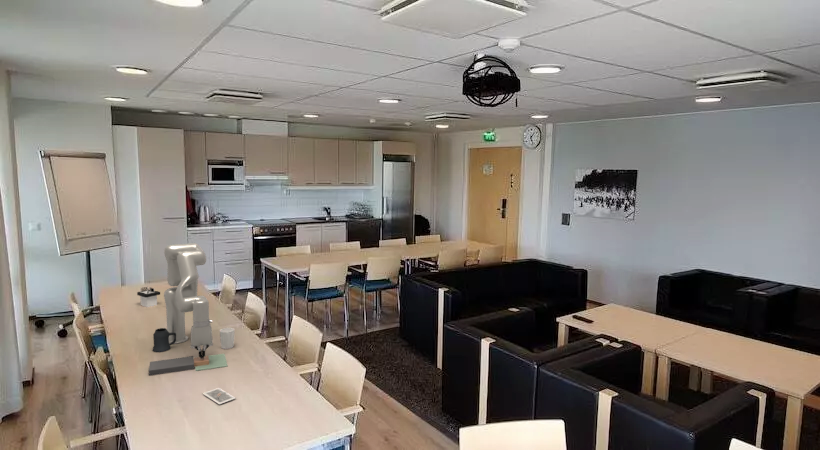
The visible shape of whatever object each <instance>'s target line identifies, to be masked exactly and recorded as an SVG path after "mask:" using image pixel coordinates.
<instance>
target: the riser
mask: <svg viewBox="0 0 820 450" xmlns="http://www.w3.org/2000/svg"><path fill="white" fill-rule="evenodd" d="M194 358H195V357H194V356H193V355H191V356H183V357H182V356H181V357H175V358H168V359H160V360H159V359H158V360H152V361H149V366H148V376H155V375H164V374H170V373H177V372H182V371H191V370H195V367H194Z"/></svg>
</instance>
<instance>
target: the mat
mask: <svg viewBox="0 0 820 450" xmlns="http://www.w3.org/2000/svg"><path fill="white" fill-rule="evenodd" d="M207 356H208V357H209V365H202V366H195V367H194V370H195V372H199V371H206V370H212V369H213V370H214V369H221V368H227V367H228V363H227V362H228V361H227V358H226V354H225V353H219V354H212V355H207ZM196 357H197V356H196ZM196 357H194V358H196Z"/></svg>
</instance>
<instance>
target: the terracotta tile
mask: <svg viewBox="0 0 820 450" xmlns="http://www.w3.org/2000/svg"><path fill="white" fill-rule="evenodd" d="M208 356H209V355H205V356H204V359H203V358H202V359H201V358H200V357H199V356H198V357H197V356H196V358H195V357H193V358H194V368H195V366H202V365H209V357H208Z"/></svg>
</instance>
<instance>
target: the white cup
mask: <svg viewBox="0 0 820 450" xmlns="http://www.w3.org/2000/svg"><path fill="white" fill-rule="evenodd" d="M219 339H220V341H219V342H220V348H221V349H223V350H229V349H232V348H233V347H234V345H235V328H234V327H224V328H221V329H219Z"/></svg>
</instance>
